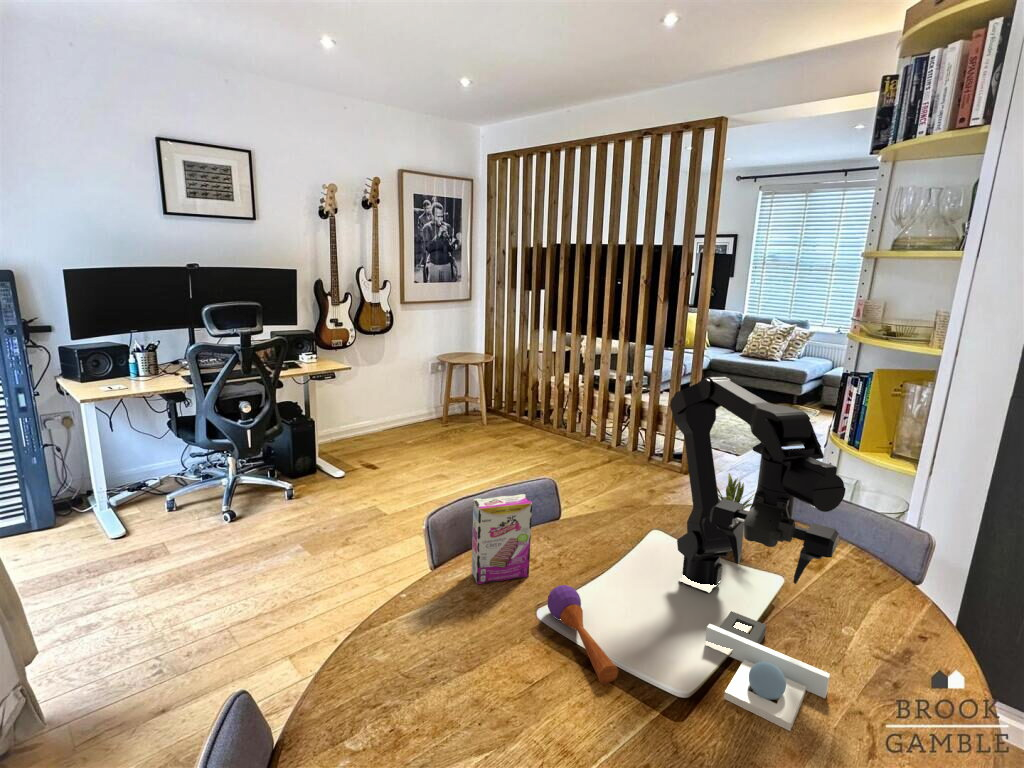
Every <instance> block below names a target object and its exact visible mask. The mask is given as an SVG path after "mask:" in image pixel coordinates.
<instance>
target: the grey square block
mask: <svg viewBox="0 0 1024 768" xmlns="http://www.w3.org/2000/svg"><path fill="white" fill-rule="evenodd" d="M736 622H740V623H742V624H745V625H748V626H752V630H751V632H750V634H749V633H746V632H744V631H741V630H739V629H736V628H734V627H733V626H734V625H735V623H736ZM719 628H722V629H724V630H726V631H729V632H731V633H734V634H736V635H738V636H741V637H743V638H746V639H748V640H750V641H753V642H755V643H758V644H760V645H761V643H762V641H763V640H764V638H765V636H766V631H767V624H766V623H762V622H760V621H758V620H755V619H752V618H750V617H747V616H745V615H743V614H740V613H738V612H735V611H732V610H730V611H729V613H728V615H727V616H726V618H725V619H724V621H722V623H721V624H720V626H719Z"/></svg>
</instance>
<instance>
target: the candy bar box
mask: <svg viewBox="0 0 1024 768" xmlns="http://www.w3.org/2000/svg"><path fill="white" fill-rule="evenodd" d="M472 502H473V503H472V538H471V543H472V545H471V574H472V577H473V578H474V580H475V583H476V585H483V584H488V583H496V582H502V581H509V580H515V579H523V578H528V577H530V558H531V540H532V539H531V537H532V520H533V519H532V516H533V502H532V500H531V499H530V498H528V496H527V495H526V494H525V493H522V494H521V493H520V494H513V495H512V494H511V495H510V494H509V495H503V496H493V497H492V496H490V497H482V498H480V497H479V498H473V501H472Z"/></svg>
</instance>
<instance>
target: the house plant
mask: <svg viewBox="0 0 1024 768" xmlns="http://www.w3.org/2000/svg"><path fill="white" fill-rule="evenodd" d="M738 479H739V477H737V478H735V479H733V477H732V475H731V473H730V472H728V479H727V480H728V481H727V483H728V484H727V486H726V488H725V495H726V496H723V495H722V493H721V491H720V489H719V488H718V486H717V490H718V497H719V501H721V500H722V499H727V500H730V501H734V502H738V503H741V501H742V497H743V494H744V490H745V484H744V482H742V483H741V479H739V481H738ZM737 481H738V482H737ZM755 494H756V492H755V493H753V494H752V495H751V496H750V497H749V498H747V499H746V500H745V501H744V502H743V503H742V504H743V506H744V511H745V512H747V511H746V510H745V509H746V508H748V507H751V506H752V504H753V503H749V502H750V501H751V500H753V499H754V498H755ZM753 496H754V498H753ZM743 535H744V528H743ZM730 552H732V548H731V550H730Z"/></svg>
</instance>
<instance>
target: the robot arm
mask: <svg viewBox="0 0 1024 768" xmlns="http://www.w3.org/2000/svg"><path fill="white" fill-rule="evenodd" d="M669 403H670V405H669V407H670V411H671V414H672V418H673V421H674V424H675V426H676V427H677V429H679V431H680V433H682V435H683V437H684V446H685V452H686V461H687V469H688V477H689V485H690V490H691V491H690V492H691V493H690V494H691V501H692V510H691V512H690V514H689V516H688V519H687V520H686V531H687V532H686V533H685V534H683V535H682V536H681V537H679V538H678V539H677V540H676V543H677V551H678V552H679V553H680V554H681V555H682V556H683V562H682V563H683V566H682V573H681V574H683V575H685V576H686V577H687V578H688V579H690V580H691V581H694V582H697V583H700V584H710V585H713V584H714V585H717V584H718V582H719V581H720V580H721V581H722V572H723V564H722V563H721V558H723V557H725V558H727V557H729V554H730V552H731V553H732V555H733V558H734V562H735V564H736V565H739V564H740V562H741V559H742V551H743V540H744V539H745V540H747V541H749V542H754V543H758V544H761V545H764V546H765V547H768V548H774V547H776V546H777V545H778V542H780V543H783V542H788V543H791V542H792V540H793V539H797V540H800V541H803V545H802V546H803V547H802V549H801V550H800V552H799V558H798V561H797V565H796V568H795V571H794V575H793V582H792V583H793V584H794V585H797V583H798V582H799V579H800V577H801V576H802V574H803V573H804V571H805V569H806V568H807V566H808V565H809V564H810V562H812V561H813V560H814V559H816V560H821V559H822V558H823V557H824V558H828V559H829V558H832V557H833V555H834V553H835V551H836V549H837V547H838V544H839V538H840V537H839V536H840V535H839V534H840V533H839V532H838V531H837V529H836V528H833V527H830V526H826V525H822V524H819V523H814V522H811V524H810V526H809V527H808V528H804V527H802V526H798V525H796V523H795V522H796V521H795V519H793V517H794V510H795V503H796V499H797V500H799V501H801V502H803V503H804V504H807V505H808V506H810V507H813V508H814V509H816V510H818V511H819V512H823V513H827V512H831V511H833V510H835V509H836V508H837V507H839V506H840V504H841V503H842V501H843V500H844V498H845V495H846V486H845V484H844V483H845V482H844V480H843V479H842V478H841V477H840V476H839V475H838V474H837V472H838V467H837V466H835V465H833V464H831V463H825V462H823V461H821V459H822V460H823V459H824V458H825V455H824V453H823V450H822V445H821V444H820V442H819V440H818V438H817V437H818V436H817V434H816V432H815V430H814V427H813V425H812V422H811V421H810V420H811V417H810V415H808V414H807V413H806V412H805V411H803V410H800V409H798V408H793V407H791V406H787V405H780V404H774V403H771V402H768V401H766V400H764V399H763V398H761V397H760V396H757V395H756V394H754V393H752V392H750V391H748V390H747V389H745V388H744V387H742V386H740V385H738V384H736V383H735V382H733V381H732V379H730V378H729V377H727V376H707V377H705V378H702V379H701V380H700V381H698V382H697V383H694V384H692V385H690V386H688V387H685V388H683V389H681V390H679V391H677V392H675V393H674V395H673V396H672V398H671V400H670V402H669ZM720 407H722V408H724V409H725V410H726V411H728V412H730V413H731V414H733V415H734V416H736V417H737V418H739V419H741V420H742V421H743V422H745V423H747V424H748V425H749V426H750V431H751V434H752V435H753V436H754V437H755V438H756V439H757V440H758V442H759V443H758V444H756V445H754V446H752V451H753V452H755V453H757V454H760V461H759V462H760V464H759V471H758V472H759V473H758V478H757V479H758V480H757V488H756V491H755V493H756V494H755V493H754V494H755V495H754V500H753V503H751V504H752V505H751V506H750V508H749V511H746V510H745V509H744V506H743V503H741V502H740V503H738V502H734V501H730V500H727V499H720V497H719V496H718V494H719V492H718V490H717V487H718V483H717V476H716V469H715V460H714V455H713V448H712V440H711V439H712V438H711V431H712V429H713V426H714V424H715V422H716V420H717V409H719V408H720ZM799 446H800V447H799ZM787 447H796V448H787ZM797 447H799V448H797ZM719 499H720V501H719ZM745 511H746V512H745ZM743 528H744V534H743ZM743 538H744V539H743ZM731 548H732V551H730V550H731Z"/></svg>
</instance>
